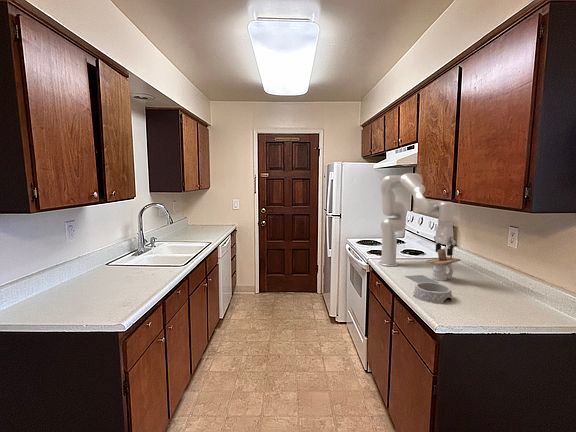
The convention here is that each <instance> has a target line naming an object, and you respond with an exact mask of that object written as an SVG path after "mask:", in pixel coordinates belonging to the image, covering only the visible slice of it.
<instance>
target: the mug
mask: <svg viewBox="0 0 576 432" xmlns="http://www.w3.org/2000/svg"><path fill="white" fill-rule="evenodd" d="M447 267H448V269H449V270H448V271H449V272H448V273H447ZM453 272H454V268H453V265H452V263H450V264H446V265H437V264H433V267H432V275H431V279H432V280H434V281H436V282H443V281H446V280H447V278H448V279H451V278H452V277H453Z"/></svg>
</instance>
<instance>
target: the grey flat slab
mask: <svg viewBox="0 0 576 432" xmlns="http://www.w3.org/2000/svg"><path fill="white" fill-rule="evenodd" d="M404 277H405V278H406V279H409V280H411V281H413V282H414V283H416V284H418V283H422V282H432V283H439V284H440V281H437V280H434V279H432V278H430V277H428V276H426V275H423V274H417V275H415V274H414V275H405V276H404Z"/></svg>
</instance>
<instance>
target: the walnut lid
mask: <svg viewBox="0 0 576 432" xmlns="http://www.w3.org/2000/svg"><path fill="white" fill-rule="evenodd" d="M437 251H438V252H437V255H438V256H437V257H436V258H432V259H428V260H426V261H425V262H426V263H428V264H433V265H434V264H437V265H446V264H450V263H451V264H454V263H457V262H461V260H462V259H461V258H454V257H450V256H447V252H446V249H444V248H441V249H439V250H437Z"/></svg>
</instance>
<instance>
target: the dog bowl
mask: <svg viewBox="0 0 576 432" xmlns="http://www.w3.org/2000/svg"><path fill="white" fill-rule="evenodd" d="M413 297H414V298H415V299H417V300H419V301H422V302H425V301H426V302H427V303H430V302H432V303H433V304H444V302H445V301H446V300H447V299H448V298H450V299H451V301H452V302H453V300H454V298H453V293H452V289H451V288H450V287H449V286H447V285H445V284H441V283H440V282H439V283H432V282H422V283H416V284H415V287H414V291H413ZM426 302H425V303H426Z"/></svg>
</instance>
